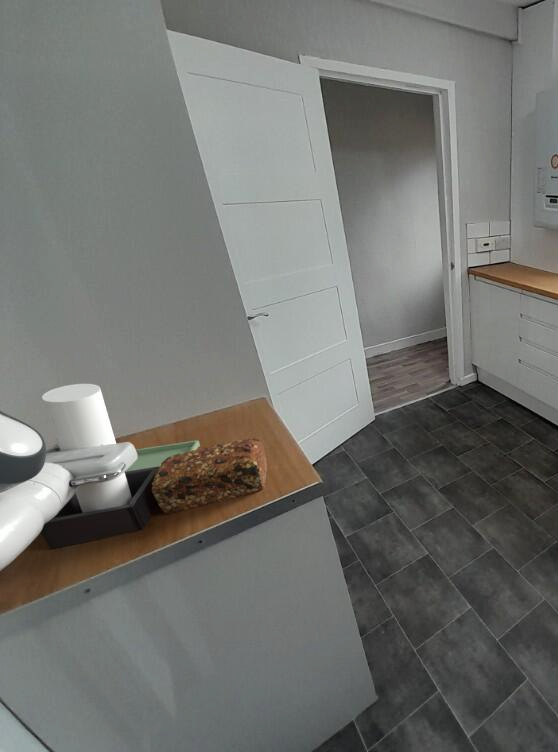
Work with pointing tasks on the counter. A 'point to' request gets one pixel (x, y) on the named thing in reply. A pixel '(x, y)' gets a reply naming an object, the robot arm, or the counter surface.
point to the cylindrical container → (86, 438)
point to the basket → (104, 515)
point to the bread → (210, 475)
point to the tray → (160, 454)
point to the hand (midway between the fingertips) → (82, 443)
